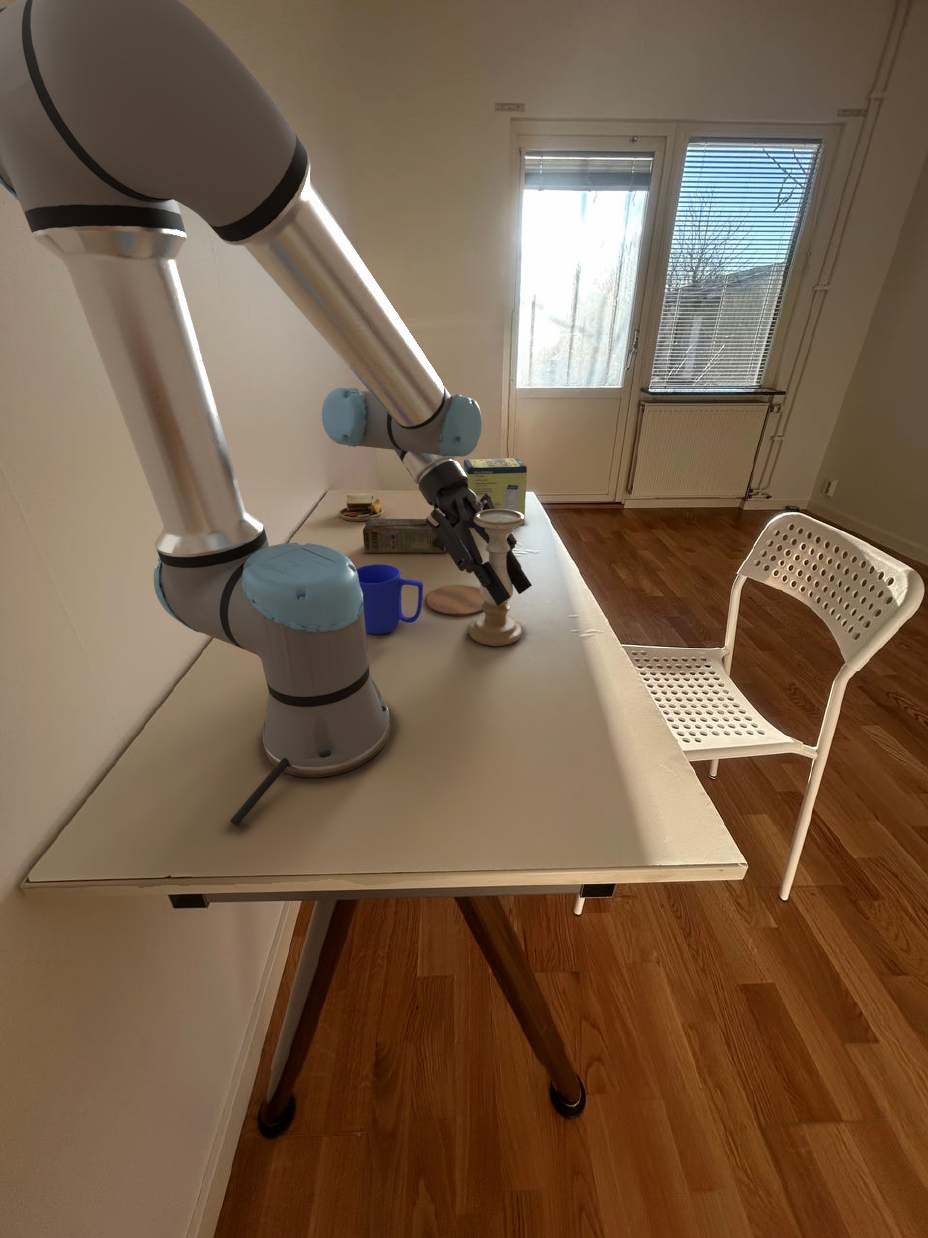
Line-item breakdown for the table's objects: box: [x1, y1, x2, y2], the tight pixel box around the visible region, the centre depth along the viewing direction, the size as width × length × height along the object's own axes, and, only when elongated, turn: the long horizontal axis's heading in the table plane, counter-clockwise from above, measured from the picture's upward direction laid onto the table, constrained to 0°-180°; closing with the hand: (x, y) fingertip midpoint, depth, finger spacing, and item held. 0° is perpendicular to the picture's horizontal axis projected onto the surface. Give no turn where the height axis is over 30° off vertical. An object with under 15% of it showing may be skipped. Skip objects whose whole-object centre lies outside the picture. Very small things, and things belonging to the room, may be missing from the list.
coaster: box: [426, 585, 484, 617], centre depth 97 cm, size 12×12×1 cm
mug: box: [356, 563, 424, 635], centre depth 86 cm, size 8×12×10 cm
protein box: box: [463, 457, 528, 526], centre depth 137 cm, size 10×16×16 cm
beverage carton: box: [362, 517, 446, 554], centre depth 121 cm, size 8×19×7 cm, turn 90°
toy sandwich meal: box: [337, 492, 384, 522], centre depth 145 cm, size 12×14×5 cm
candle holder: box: [468, 509, 525, 647], centre depth 82 cm, size 9×9×20 cm
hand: (514, 595), depth 80 cm, fingers closed on candle holder, 5 cm apart
